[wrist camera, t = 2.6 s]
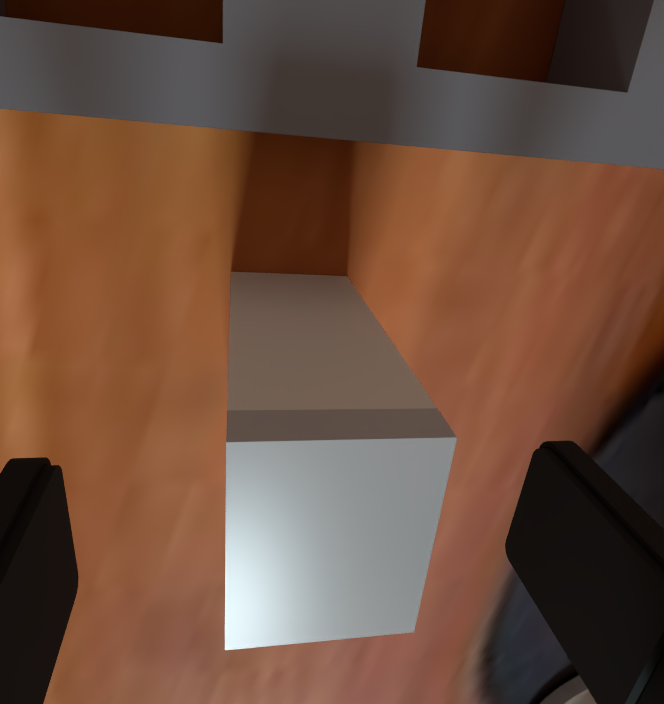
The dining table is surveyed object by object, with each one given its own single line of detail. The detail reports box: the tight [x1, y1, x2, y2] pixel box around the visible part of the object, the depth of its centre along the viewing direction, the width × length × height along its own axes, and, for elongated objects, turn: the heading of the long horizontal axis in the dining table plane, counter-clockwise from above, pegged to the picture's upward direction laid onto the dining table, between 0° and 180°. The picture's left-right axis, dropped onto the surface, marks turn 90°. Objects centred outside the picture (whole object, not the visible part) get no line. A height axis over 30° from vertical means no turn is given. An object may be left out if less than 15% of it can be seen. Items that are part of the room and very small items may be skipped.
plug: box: [225, 272, 457, 650], centre depth 14 cm, size 4×5×10 cm
